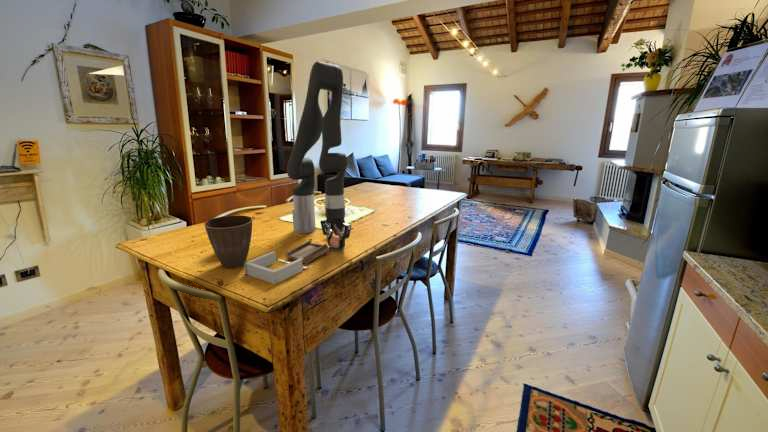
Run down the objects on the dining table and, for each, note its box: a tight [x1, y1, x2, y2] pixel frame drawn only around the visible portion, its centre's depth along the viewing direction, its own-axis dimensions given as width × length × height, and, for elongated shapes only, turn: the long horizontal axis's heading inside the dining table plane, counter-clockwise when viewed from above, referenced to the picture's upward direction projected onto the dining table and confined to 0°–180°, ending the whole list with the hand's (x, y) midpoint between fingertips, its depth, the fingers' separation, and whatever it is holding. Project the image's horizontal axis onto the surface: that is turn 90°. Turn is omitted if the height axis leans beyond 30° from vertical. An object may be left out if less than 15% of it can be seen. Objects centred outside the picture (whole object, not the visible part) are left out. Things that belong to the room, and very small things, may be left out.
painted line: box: [277, 258, 309, 270], centre depth 120 cm, size 14×1×1 cm, turn 59°
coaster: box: [328, 246, 345, 253], centre depth 134 cm, size 6×6×1 cm
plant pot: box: [203, 214, 253, 269], centre depth 117 cm, size 15×15×16 cm
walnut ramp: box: [285, 239, 329, 265], centre depth 126 cm, size 10×12×4 cm
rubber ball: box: [330, 235, 340, 248], centre depth 133 cm, size 5×5×5 cm
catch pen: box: [243, 251, 304, 285], centre depth 112 cm, size 14×12×4 cm
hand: (336, 246), depth 134 cm, fingers closed on rubber ball, 5 cm apart
